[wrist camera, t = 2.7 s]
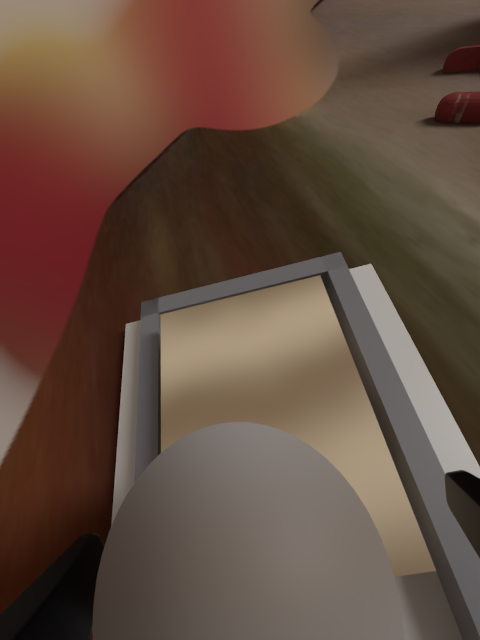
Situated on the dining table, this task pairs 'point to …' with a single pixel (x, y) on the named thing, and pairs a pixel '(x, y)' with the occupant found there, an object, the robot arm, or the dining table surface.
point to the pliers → (461, 103)
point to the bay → (390, 410)
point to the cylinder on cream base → (261, 487)
